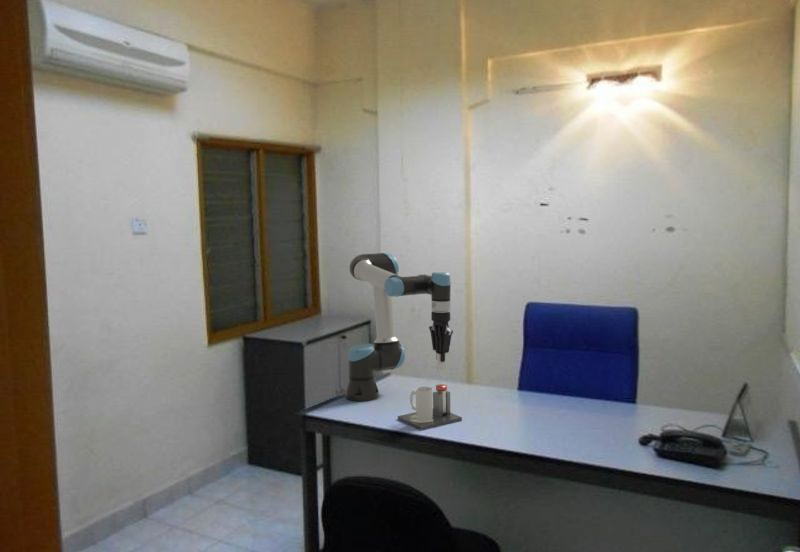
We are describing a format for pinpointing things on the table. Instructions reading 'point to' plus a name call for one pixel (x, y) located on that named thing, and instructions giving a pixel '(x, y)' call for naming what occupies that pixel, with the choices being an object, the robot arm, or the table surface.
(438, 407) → the dark grey holder stand
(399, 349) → the robot arm
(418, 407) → the mug
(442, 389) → the red-capped tube
